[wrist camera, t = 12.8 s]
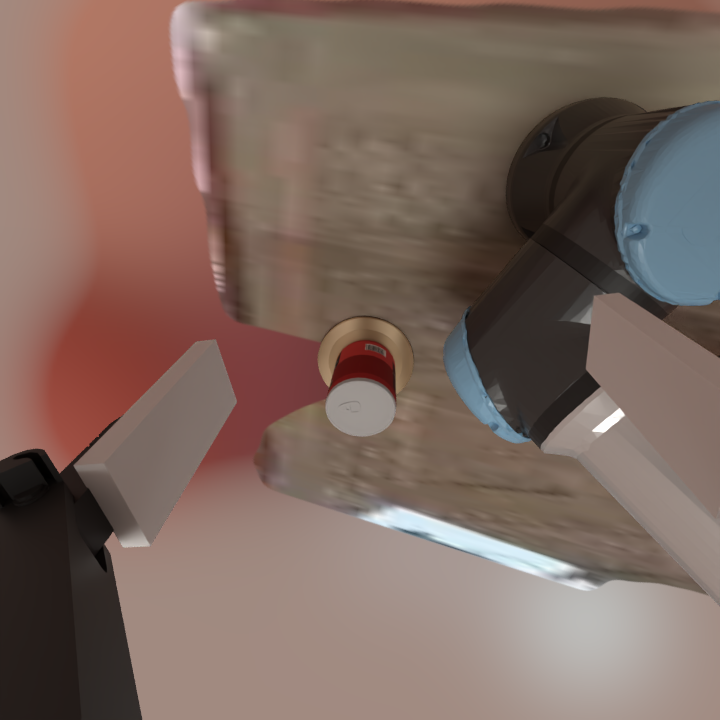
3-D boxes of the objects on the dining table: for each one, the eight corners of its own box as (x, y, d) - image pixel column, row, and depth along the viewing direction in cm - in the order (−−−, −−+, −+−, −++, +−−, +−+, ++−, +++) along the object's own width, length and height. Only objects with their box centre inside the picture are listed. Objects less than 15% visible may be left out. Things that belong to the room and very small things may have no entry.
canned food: (327, 347, 55) (314, 391, 45) (384, 330, 53) (383, 371, 43) (348, 394, 58) (339, 444, 48) (402, 379, 56) (404, 427, 47)
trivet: (408, 310, 53) (408, 313, 52) (417, 396, 58) (417, 399, 58) (310, 322, 54) (308, 325, 53) (328, 404, 60) (327, 407, 59)
